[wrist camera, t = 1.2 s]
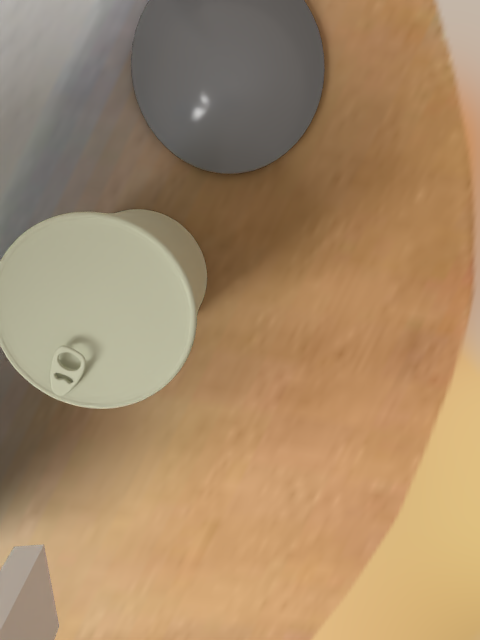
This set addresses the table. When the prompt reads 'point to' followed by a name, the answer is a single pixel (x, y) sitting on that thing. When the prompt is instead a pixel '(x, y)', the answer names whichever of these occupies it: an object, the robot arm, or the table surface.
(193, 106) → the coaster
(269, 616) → the table surface
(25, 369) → the can
